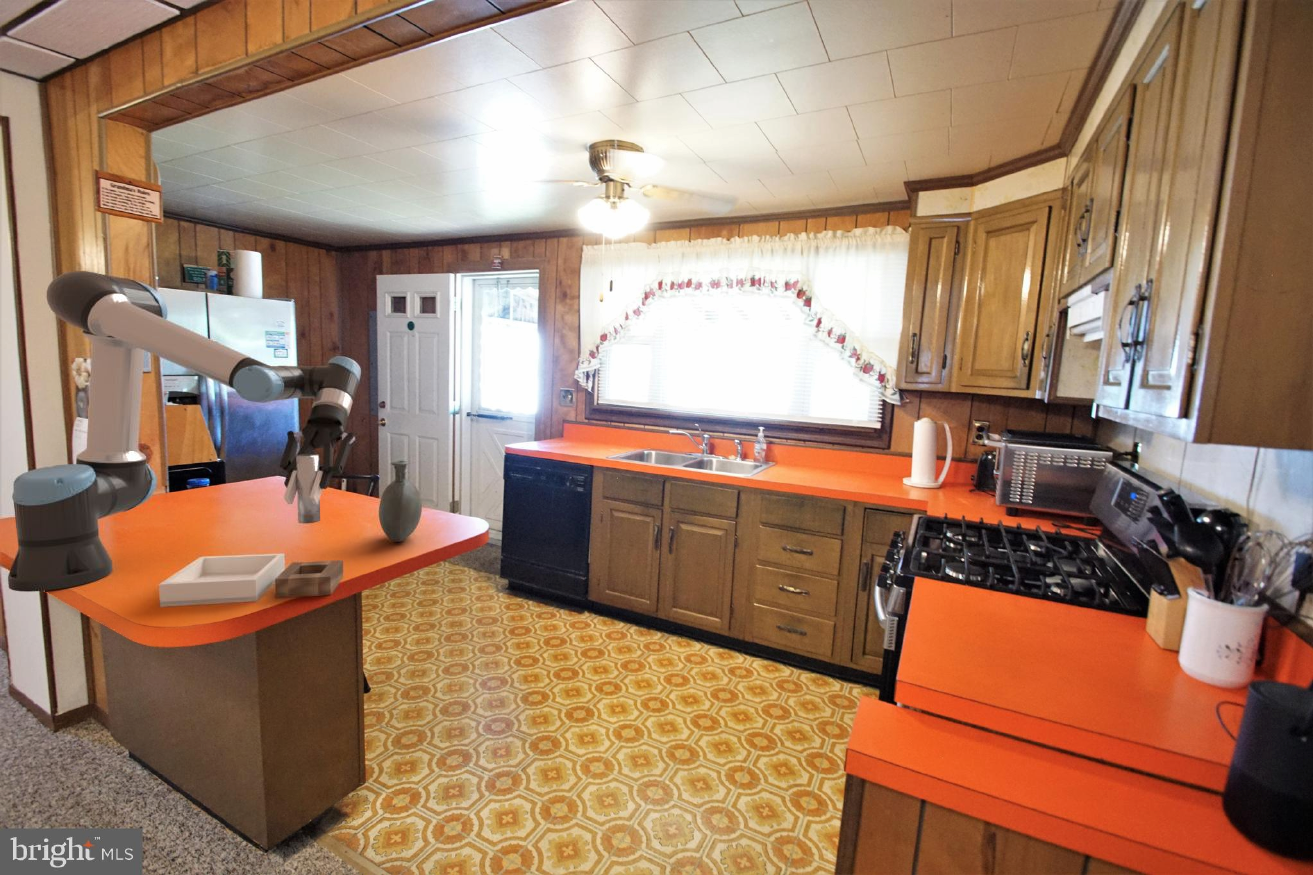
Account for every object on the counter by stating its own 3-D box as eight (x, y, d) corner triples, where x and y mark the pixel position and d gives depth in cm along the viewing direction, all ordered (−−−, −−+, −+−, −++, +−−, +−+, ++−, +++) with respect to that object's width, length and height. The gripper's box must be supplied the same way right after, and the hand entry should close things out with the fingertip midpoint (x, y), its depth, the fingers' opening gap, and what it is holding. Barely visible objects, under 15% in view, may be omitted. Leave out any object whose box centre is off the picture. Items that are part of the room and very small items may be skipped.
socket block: (275, 598, 114) (274, 579, 114) (292, 579, 124) (292, 562, 123) (330, 594, 117) (330, 576, 116) (343, 577, 126) (342, 560, 126)
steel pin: (295, 523, 116) (293, 457, 114) (301, 518, 120) (300, 453, 118) (317, 523, 117) (315, 457, 115) (322, 518, 121) (321, 454, 119)
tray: (160, 606, 108) (158, 584, 107) (201, 576, 123) (200, 556, 122) (256, 601, 112) (255, 579, 112) (285, 572, 127) (284, 553, 127)
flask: (362, 548, 146) (361, 465, 143) (396, 530, 163) (395, 455, 160) (406, 551, 146) (405, 467, 143) (435, 532, 162) (435, 457, 160)
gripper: (373, 424, 133) (351, 510, 119) (294, 422, 129) (260, 510, 115) (366, 403, 127) (341, 491, 113) (282, 400, 124) (246, 490, 110)
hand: (300, 500), depth 114 cm, fingers closed on steel pin, 4 cm apart
